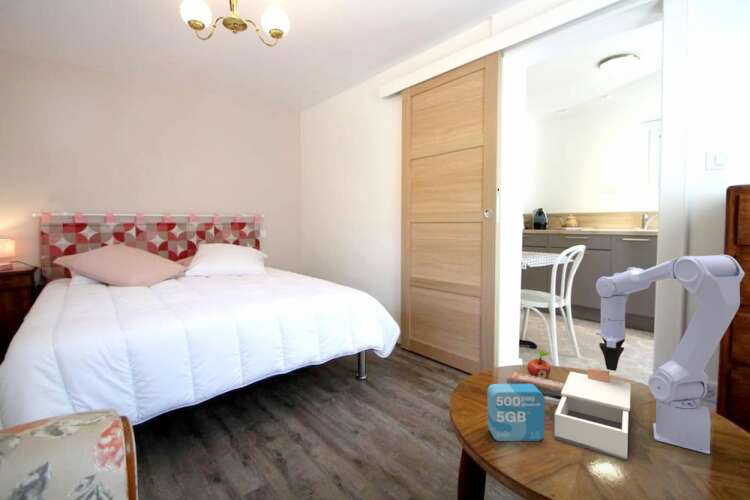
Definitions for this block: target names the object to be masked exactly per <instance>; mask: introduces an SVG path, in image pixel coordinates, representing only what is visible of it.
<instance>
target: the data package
mask: <svg viewBox="0 0 750 500" xmlns="http://www.w3.org/2000/svg"><path fill="white" fill-rule="evenodd" d="M486 391H487V392H486V393H487V395H486V396H487V427H488V430H489V432H490V434H491V435H492V437H493V439H494V440H496V441H498V442H538V441H541V440H543V438H544V436H545V402H544V396H543V394H542V393H541V392H540V391H539V390H538V389H537V388H536V387H535V386H534V385H533V384H507V383H491V384H490V385H489V386H488V388H487V390H486Z"/></svg>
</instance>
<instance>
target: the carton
mask: <svg viewBox="0 0 750 500" xmlns="http://www.w3.org/2000/svg"><path fill="white" fill-rule="evenodd" d="M554 439H555V440H558V441H561V442H565V443H568V444H571V445H574V444H575V445H574V446H578V447H581V446H582V447H581V448H584V447H585V448H584V449H587V448H588V450H591V451H595V452H598V453H601V454H605V455H607V456H611V457H614V458H618V459H622V460H624V461H628V445H629V411H628V410H623V409H619V408H615V407H610V406H606V405H602V404H597V403H593V402H589V401H585V400H580V399H576V398H572V397H567V396H562V398H561V400H560V403H559V405H557V408H556V410H555V412H554Z"/></svg>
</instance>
